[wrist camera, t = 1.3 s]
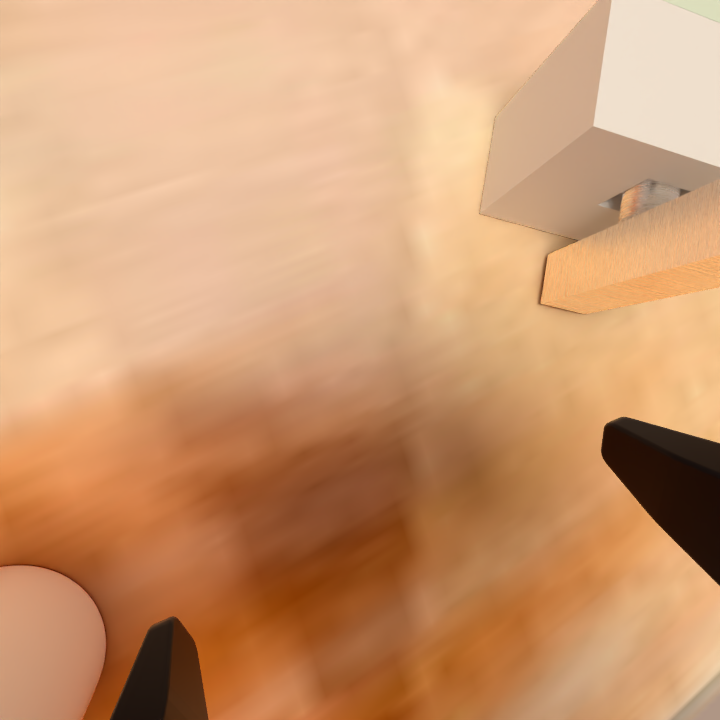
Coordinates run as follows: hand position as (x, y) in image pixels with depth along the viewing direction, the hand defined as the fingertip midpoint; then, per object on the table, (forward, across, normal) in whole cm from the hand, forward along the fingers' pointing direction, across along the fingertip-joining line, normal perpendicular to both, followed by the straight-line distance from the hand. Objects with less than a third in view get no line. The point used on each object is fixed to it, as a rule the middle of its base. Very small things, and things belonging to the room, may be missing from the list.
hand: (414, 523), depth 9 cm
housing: (+18, -20, +1) cm, 27 cm away
